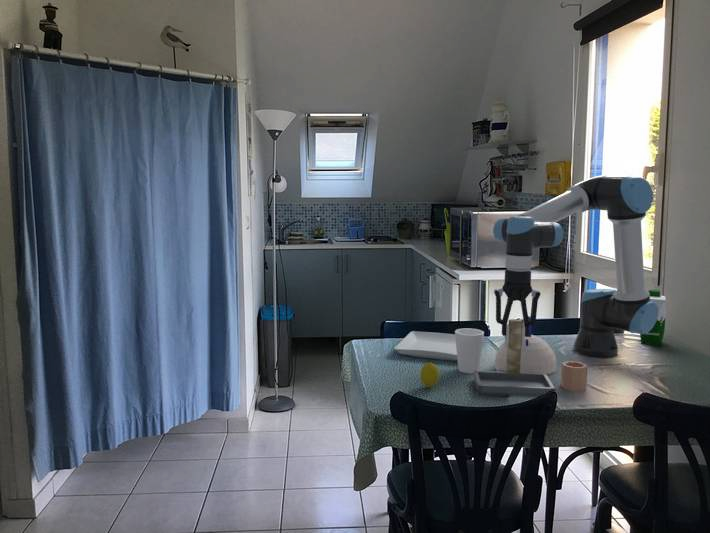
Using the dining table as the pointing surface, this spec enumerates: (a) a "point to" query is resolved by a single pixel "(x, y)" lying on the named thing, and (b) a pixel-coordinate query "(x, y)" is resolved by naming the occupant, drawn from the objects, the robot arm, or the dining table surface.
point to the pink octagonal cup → (574, 376)
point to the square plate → (429, 345)
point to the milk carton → (658, 329)
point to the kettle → (530, 356)
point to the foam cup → (468, 349)
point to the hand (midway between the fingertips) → (514, 346)
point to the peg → (514, 347)
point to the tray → (511, 383)
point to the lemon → (429, 374)
